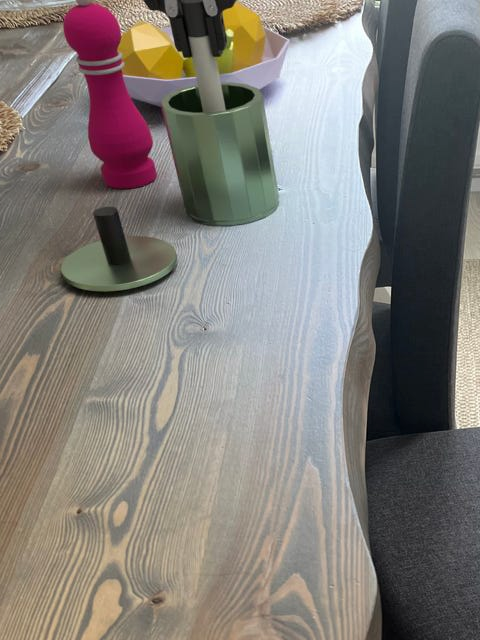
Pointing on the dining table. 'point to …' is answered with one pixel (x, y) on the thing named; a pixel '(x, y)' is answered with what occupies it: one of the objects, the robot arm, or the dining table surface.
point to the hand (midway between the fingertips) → (203, 54)
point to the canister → (222, 155)
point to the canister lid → (117, 258)
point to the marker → (203, 56)
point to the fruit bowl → (178, 72)
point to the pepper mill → (109, 98)
